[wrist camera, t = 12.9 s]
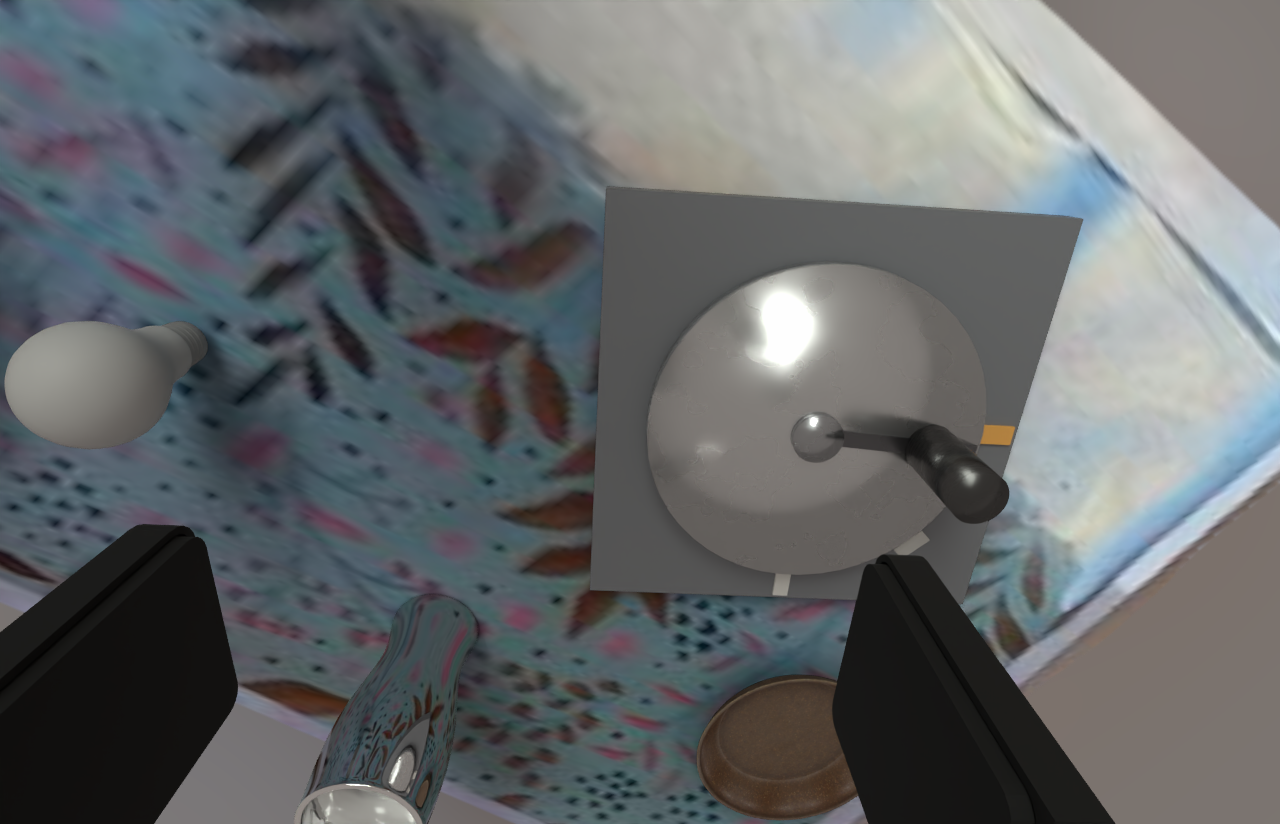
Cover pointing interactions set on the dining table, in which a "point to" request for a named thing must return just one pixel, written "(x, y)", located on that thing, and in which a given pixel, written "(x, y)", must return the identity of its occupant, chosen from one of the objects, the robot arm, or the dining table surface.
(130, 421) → the lightbulb
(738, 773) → the saucer
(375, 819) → the beer glass
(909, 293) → the dial
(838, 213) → the dial plate
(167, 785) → the robot arm
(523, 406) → the dining table surface
